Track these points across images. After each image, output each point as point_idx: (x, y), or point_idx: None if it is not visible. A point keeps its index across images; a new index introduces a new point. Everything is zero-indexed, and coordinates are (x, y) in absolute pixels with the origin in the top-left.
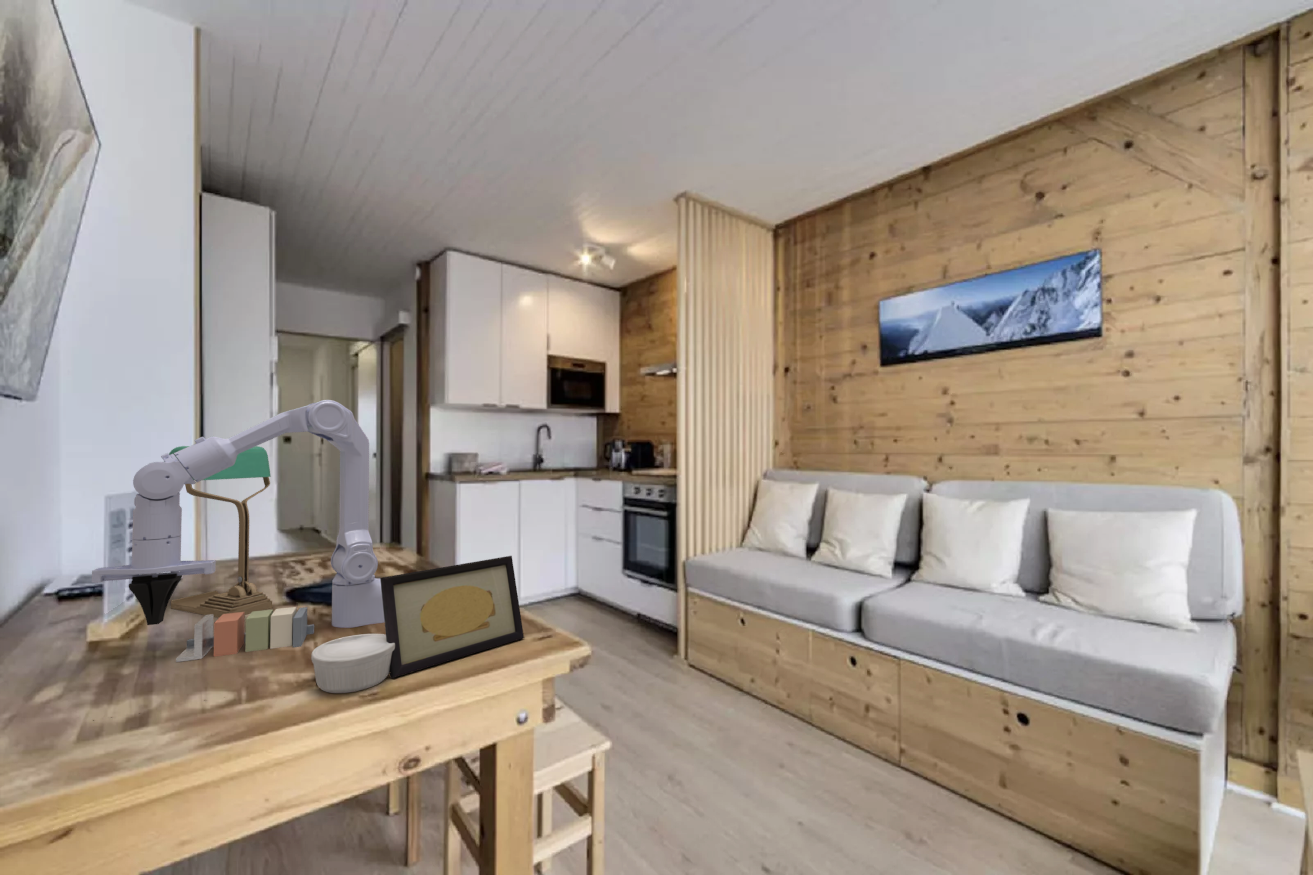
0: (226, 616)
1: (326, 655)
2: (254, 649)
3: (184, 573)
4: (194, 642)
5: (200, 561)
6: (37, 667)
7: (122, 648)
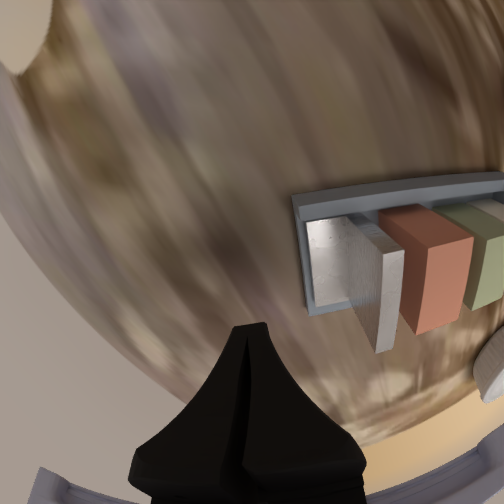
0: (439, 280)
1: (491, 395)
2: None
3: (392, 497)
4: (359, 320)
5: (479, 501)
6: (24, 215)
7: (85, 112)
